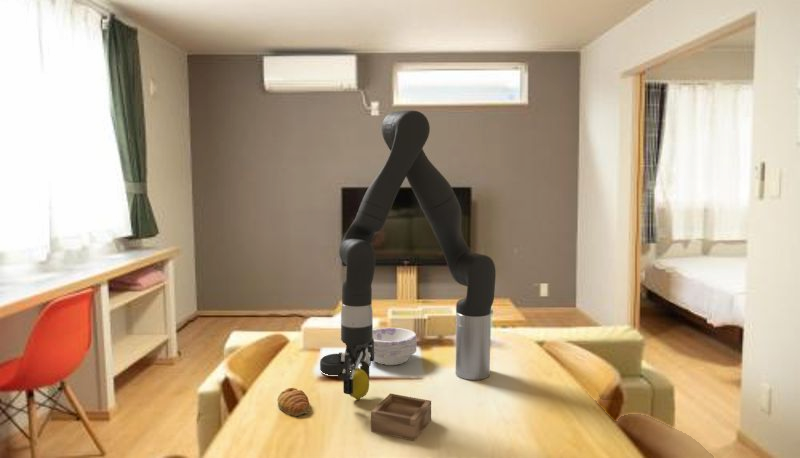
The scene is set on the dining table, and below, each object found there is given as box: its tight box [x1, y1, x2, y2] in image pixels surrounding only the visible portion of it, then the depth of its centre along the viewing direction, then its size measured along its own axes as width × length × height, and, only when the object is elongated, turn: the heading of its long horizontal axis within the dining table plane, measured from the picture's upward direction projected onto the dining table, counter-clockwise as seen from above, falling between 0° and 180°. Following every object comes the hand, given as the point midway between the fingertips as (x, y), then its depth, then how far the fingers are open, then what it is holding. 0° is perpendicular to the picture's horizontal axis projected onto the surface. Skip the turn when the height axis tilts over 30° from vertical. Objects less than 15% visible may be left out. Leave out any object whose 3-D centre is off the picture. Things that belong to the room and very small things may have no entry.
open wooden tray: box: [370, 393, 432, 441], centre depth 120 cm, size 10×10×4 cm
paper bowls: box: [368, 327, 418, 366], centre depth 160 cm, size 15×15×8 cm
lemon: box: [348, 367, 370, 401], centre depth 133 cm, size 6×6×8 cm
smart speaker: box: [319, 353, 353, 375], centre depth 152 cm, size 9×9×4 cm
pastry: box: [276, 387, 311, 417], centre depth 129 cm, size 9×7×4 cm
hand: (356, 387), depth 133 cm, fingers open, 8 cm apart
